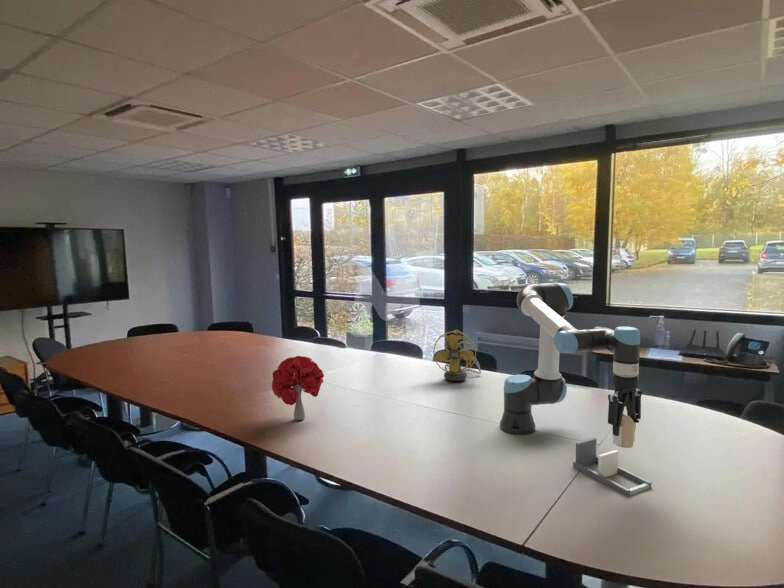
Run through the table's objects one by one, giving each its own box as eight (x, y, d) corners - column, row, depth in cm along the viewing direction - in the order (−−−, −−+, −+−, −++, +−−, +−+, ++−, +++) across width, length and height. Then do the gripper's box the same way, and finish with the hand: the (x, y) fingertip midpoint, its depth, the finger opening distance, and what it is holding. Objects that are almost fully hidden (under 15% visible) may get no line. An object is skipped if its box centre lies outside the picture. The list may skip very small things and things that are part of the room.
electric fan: (432, 380, 272) (431, 331, 269) (443, 366, 302) (443, 322, 299) (475, 383, 264) (475, 333, 260) (483, 369, 294) (483, 323, 290)
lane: (572, 467, 164) (573, 443, 163) (595, 460, 168) (596, 436, 167) (627, 496, 144) (628, 469, 143) (651, 488, 149) (652, 461, 148)
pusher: (597, 477, 156) (598, 455, 155) (614, 471, 159) (615, 449, 158) (600, 478, 155) (601, 456, 154) (617, 473, 158) (618, 451, 157)
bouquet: (299, 430, 202) (296, 365, 198) (263, 420, 214) (260, 358, 211) (331, 415, 220) (329, 354, 216) (296, 406, 232) (293, 349, 229)
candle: (611, 441, 153) (612, 412, 152) (627, 440, 153) (628, 412, 152) (619, 448, 148) (620, 419, 147) (636, 447, 148) (637, 418, 147)
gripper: (616, 381, 141) (614, 452, 143) (655, 373, 148) (652, 440, 151) (596, 375, 147) (594, 443, 150) (634, 367, 155) (632, 432, 158)
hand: (623, 442), depth 150 cm, fingers closed on candle, 5 cm apart
